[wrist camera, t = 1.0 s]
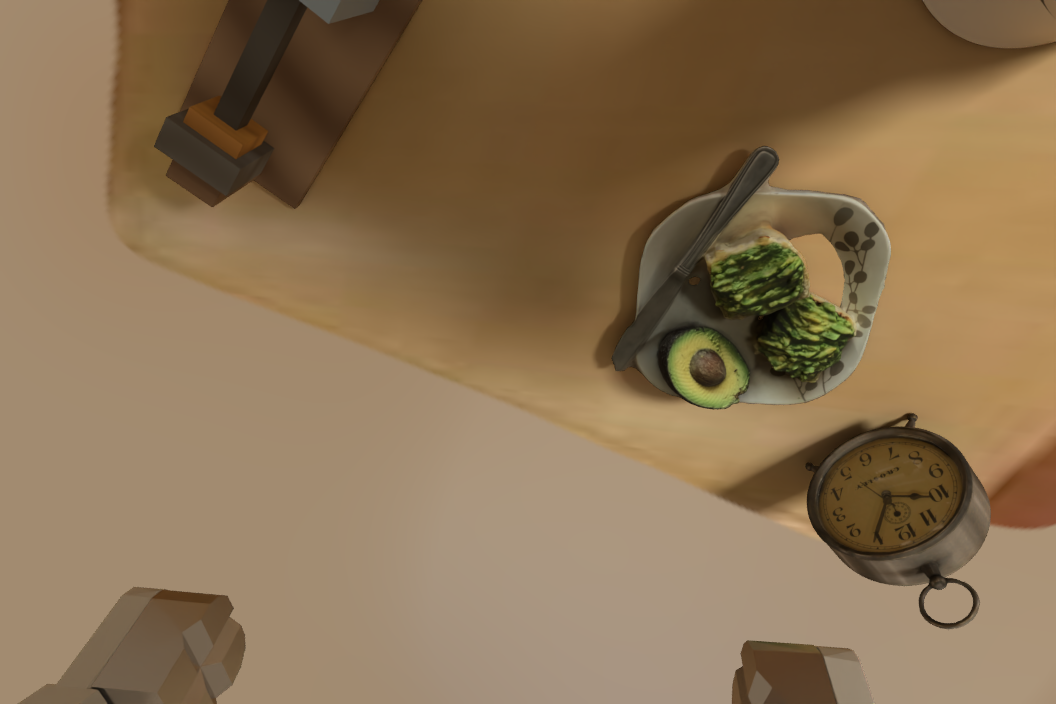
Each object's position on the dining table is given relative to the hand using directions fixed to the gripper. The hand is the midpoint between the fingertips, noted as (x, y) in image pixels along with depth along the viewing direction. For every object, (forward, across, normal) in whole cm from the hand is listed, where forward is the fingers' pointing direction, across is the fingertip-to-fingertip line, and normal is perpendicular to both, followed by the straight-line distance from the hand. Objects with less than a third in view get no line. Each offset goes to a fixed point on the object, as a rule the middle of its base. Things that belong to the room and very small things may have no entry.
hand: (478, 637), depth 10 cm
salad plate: (+36, -12, +14) cm, 41 cm away
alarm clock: (+36, -24, +26) cm, 50 cm away
